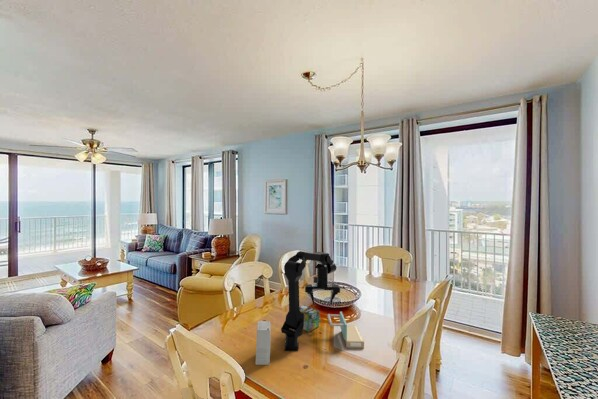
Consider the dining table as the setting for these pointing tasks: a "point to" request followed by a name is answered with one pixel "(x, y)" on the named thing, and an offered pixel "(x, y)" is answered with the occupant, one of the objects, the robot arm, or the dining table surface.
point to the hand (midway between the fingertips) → (322, 304)
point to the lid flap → (342, 324)
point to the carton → (353, 338)
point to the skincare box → (263, 343)
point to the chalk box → (310, 318)
